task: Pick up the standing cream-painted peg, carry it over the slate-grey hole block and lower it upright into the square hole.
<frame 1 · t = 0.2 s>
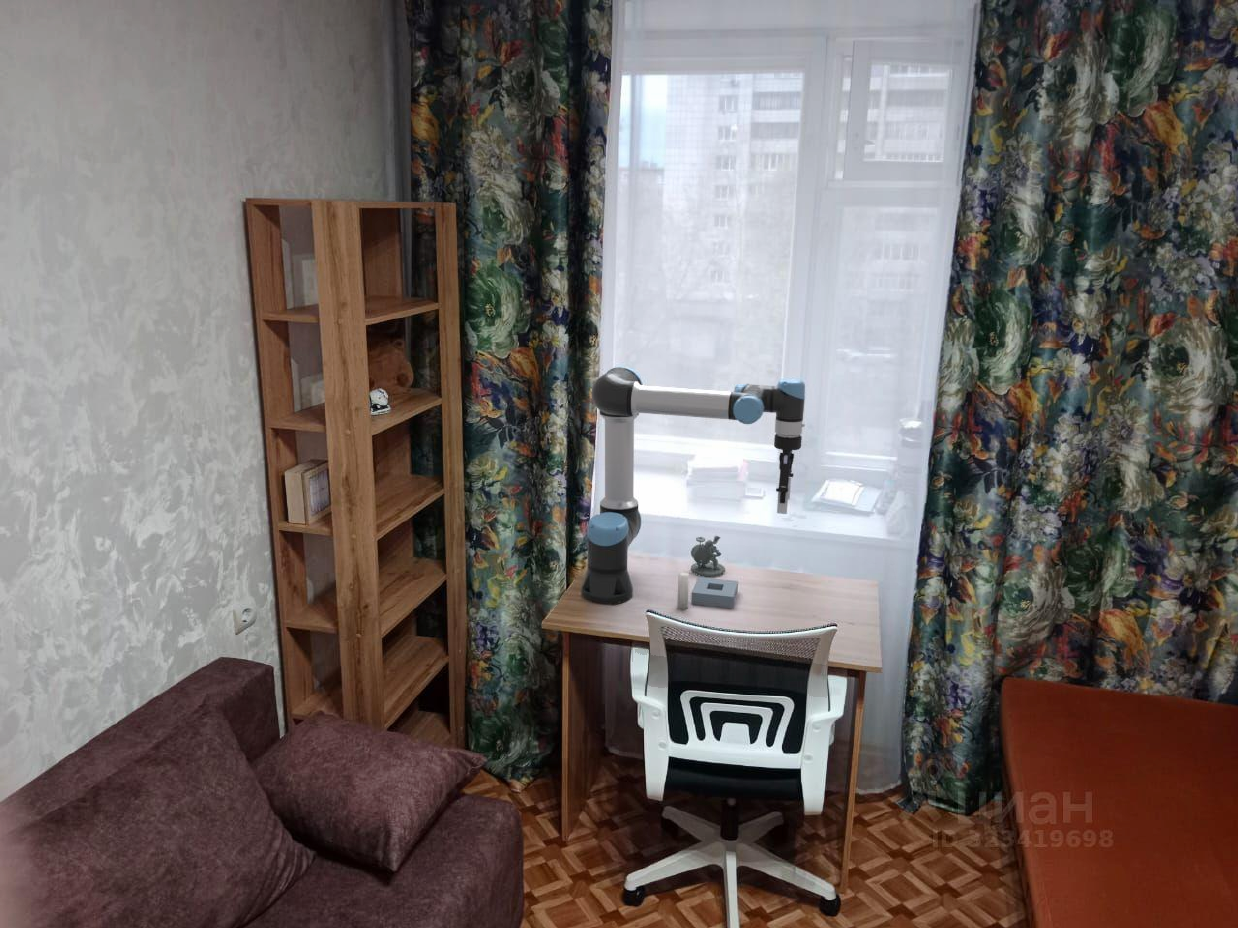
hand: (783, 506, 265), 28 cm above the table, fingers open, 13 cm apart
peg: (682, 607, 263), on the table
hole block: (714, 597, 270), on the table
figurine: (707, 571, 289), on the table
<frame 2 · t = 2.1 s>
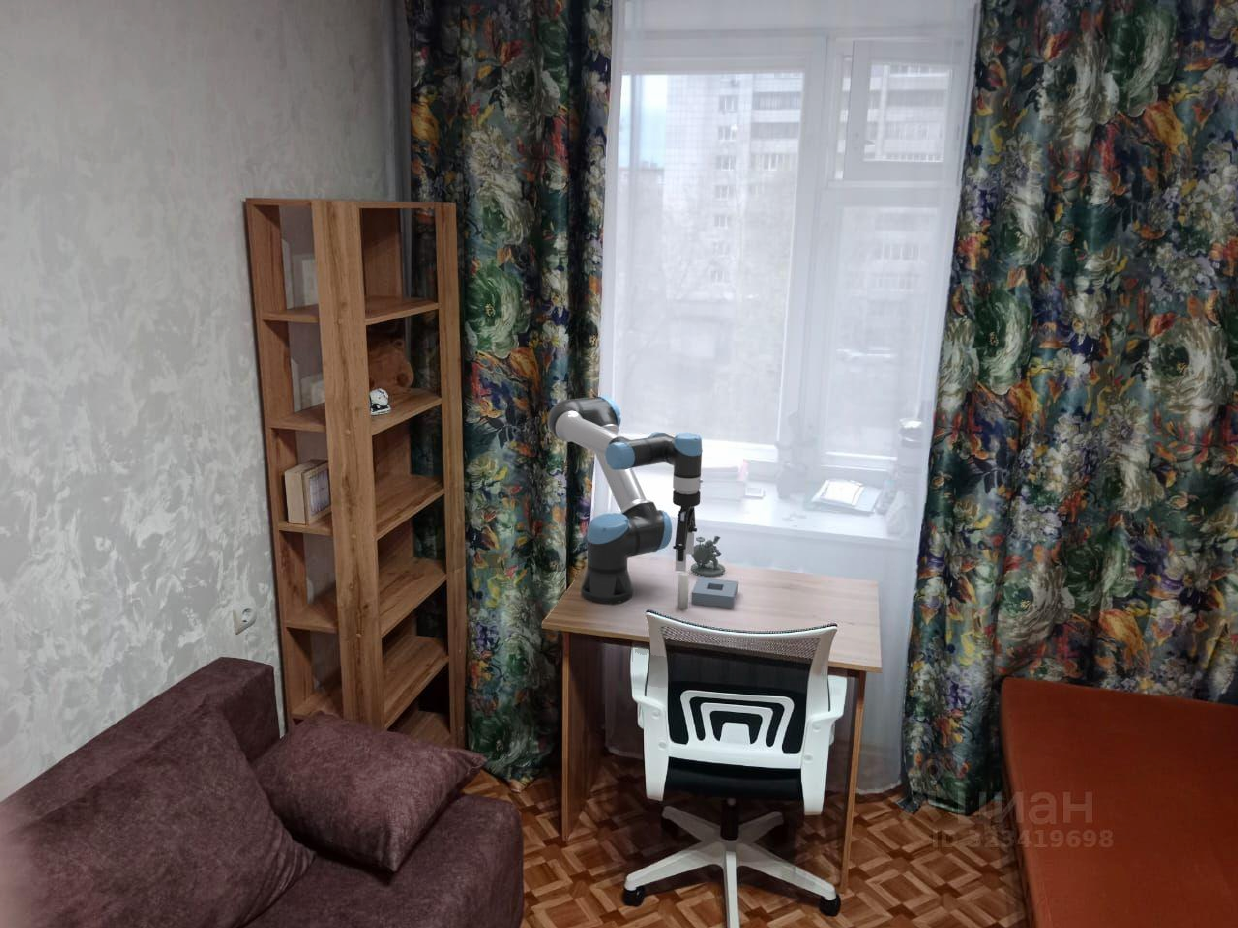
hand: (684, 562, 259), 14 cm above the table, fingers open, 13 cm apart
nothing on the table moved.
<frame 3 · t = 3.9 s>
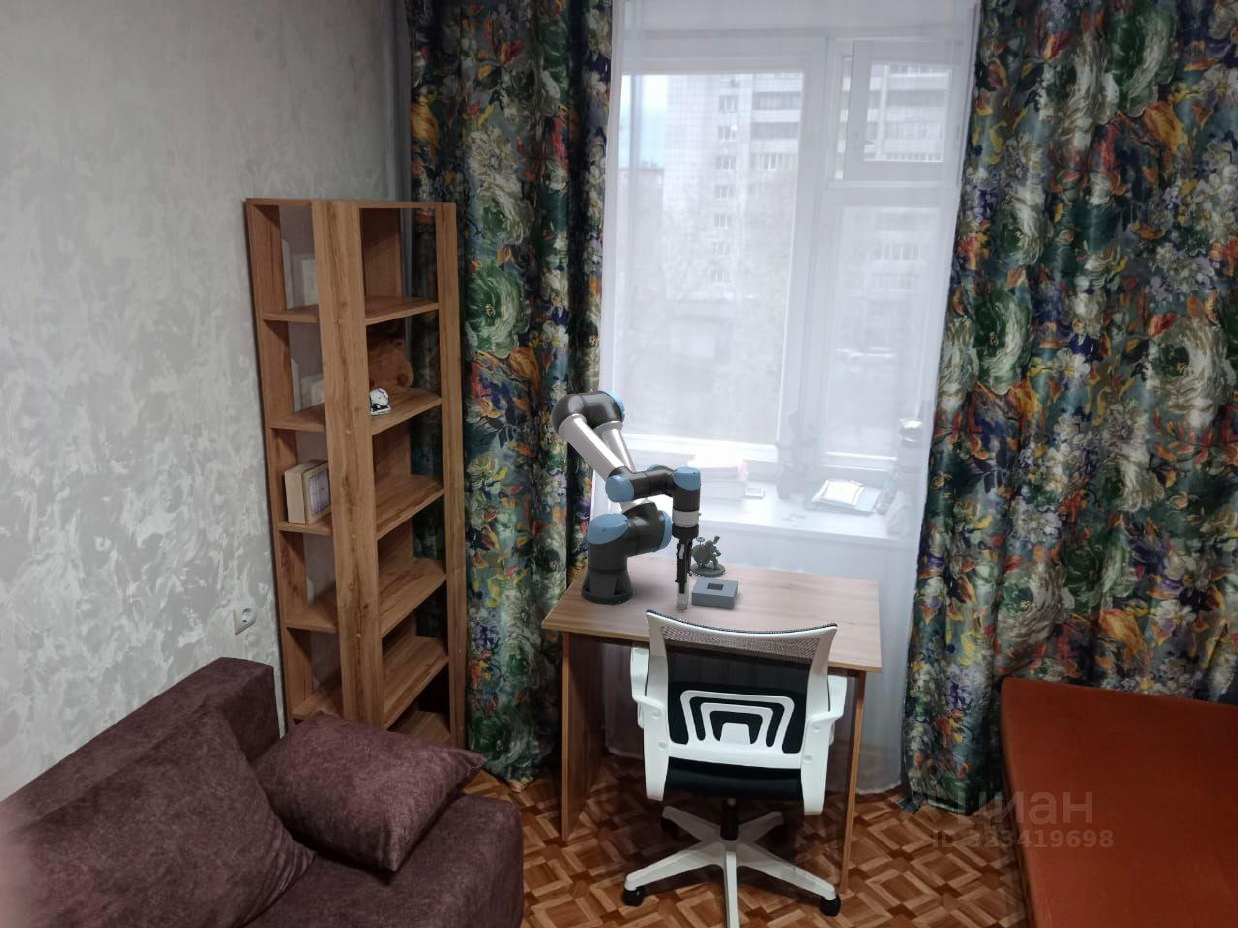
hand: (682, 600, 262), 2 cm above the table, fingers closed on peg, 3 cm apart
peg: (682, 606, 263), on the table, touching gripper
everything else where it was.
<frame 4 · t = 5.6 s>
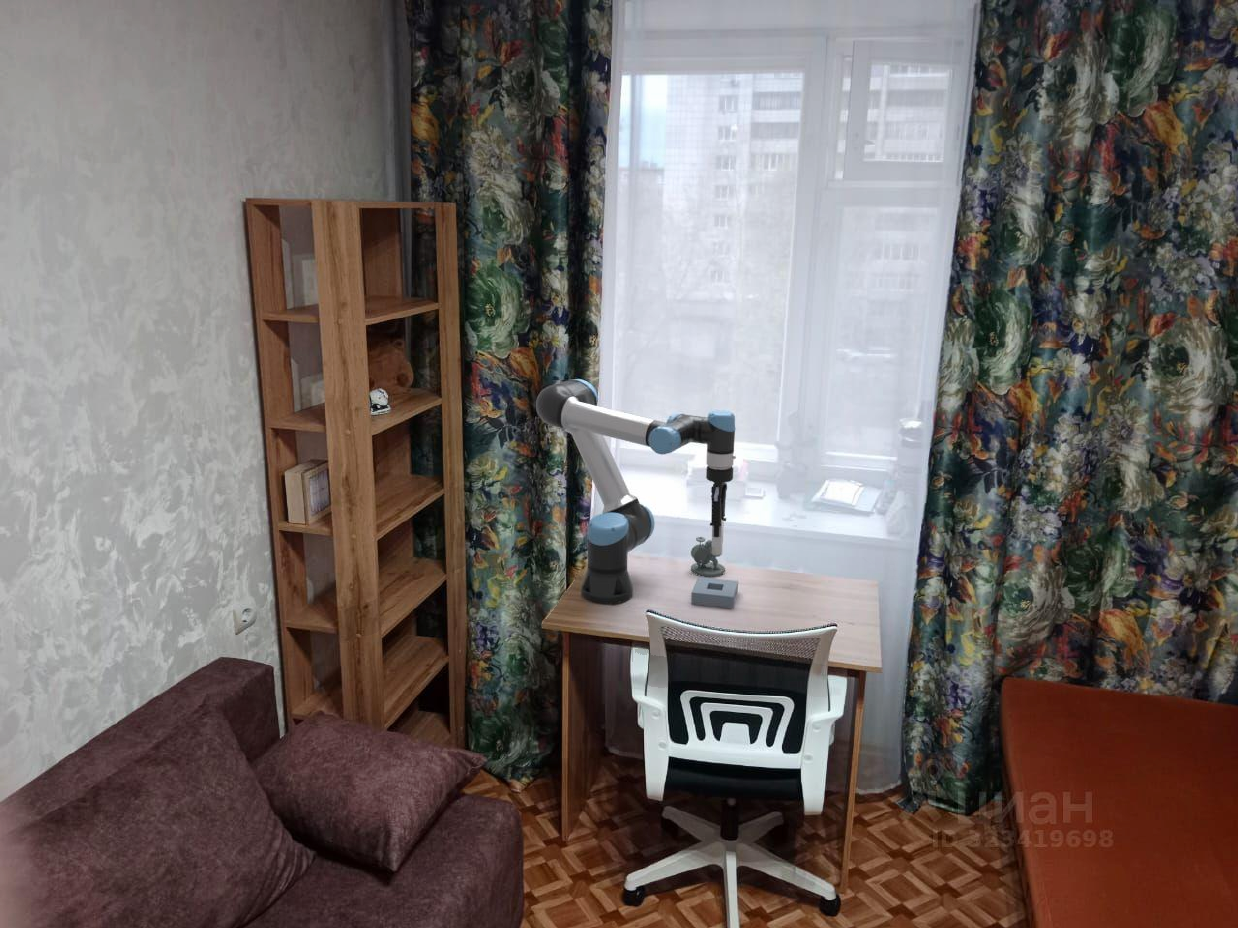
hand: (717, 544, 265), 17 cm above the table, fingers closed on peg, 2 cm apart
peg: (716, 553, 265), point 14 cm above the table, touching gripper
everything else where it was.
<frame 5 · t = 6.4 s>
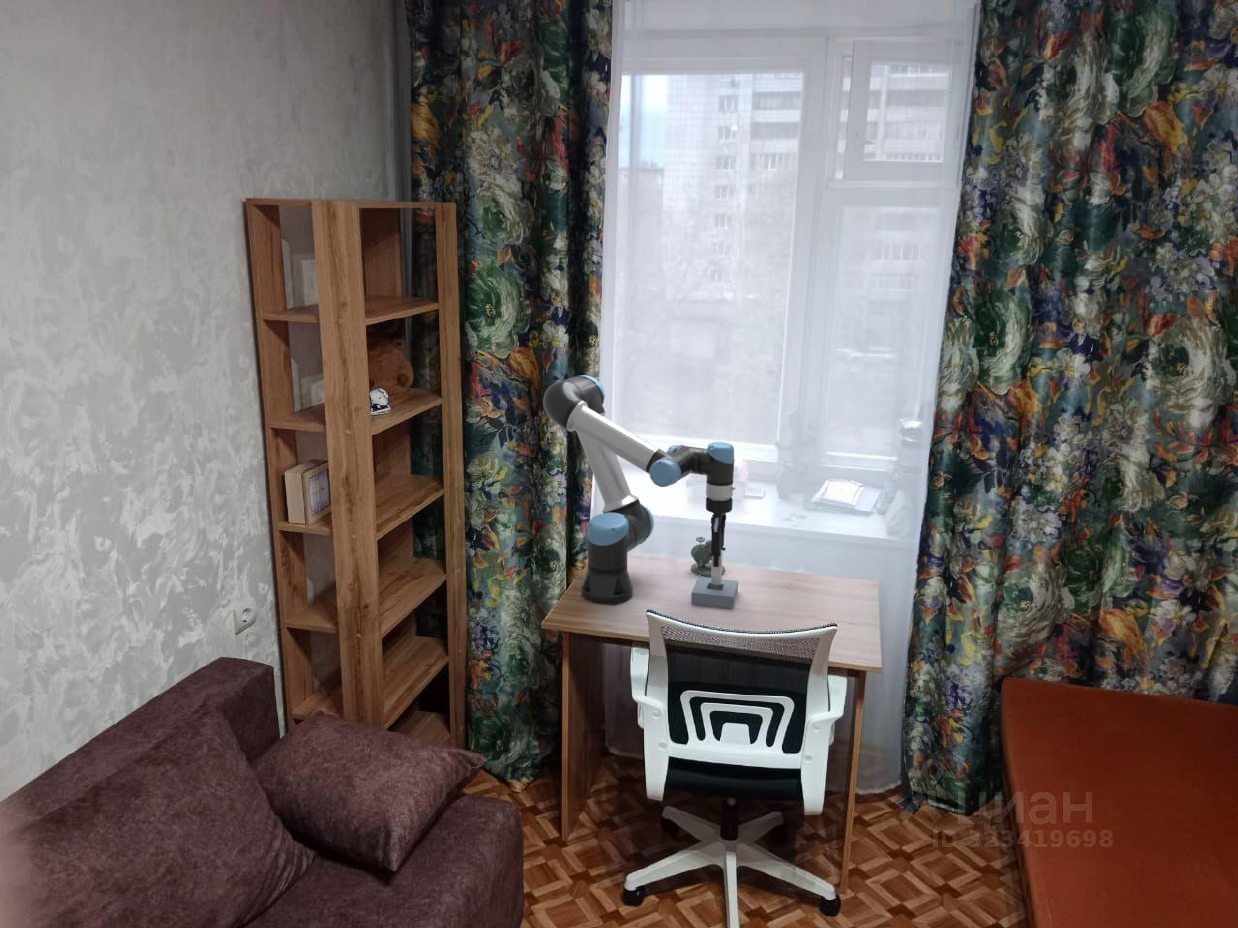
hand: (716, 573, 267), 7 cm above the table, fingers closed on peg, 2 cm apart
peg: (716, 582, 268), point 5 cm above the table, touching gripper
everything else where it was.
when the fingers open (4 cm above the table, at t = 7.3 s): peg drops 1 cm, resting in hole block.
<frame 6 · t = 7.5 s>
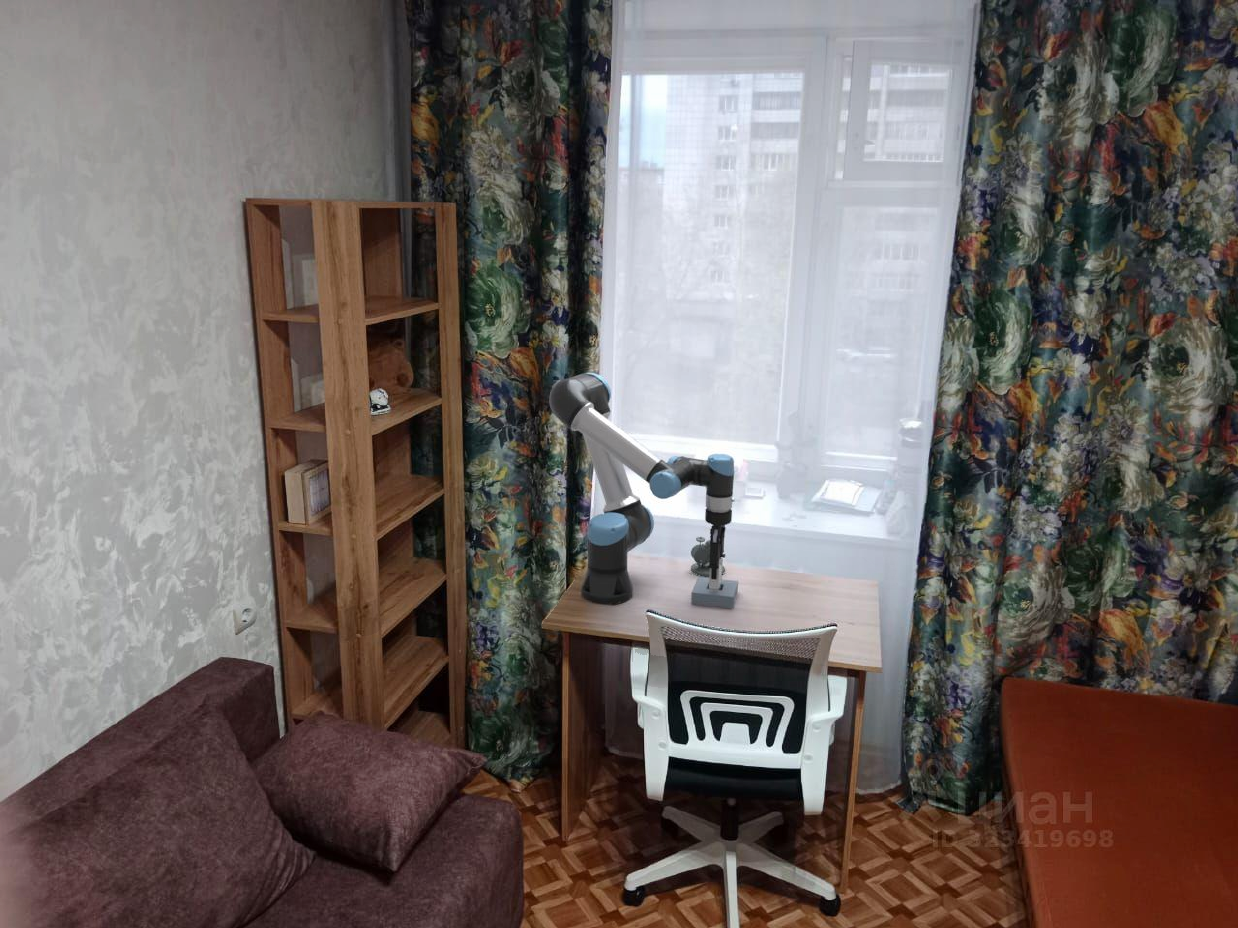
hand: (715, 583, 268), 4 cm above the table, fingers open, 7 cm apart
peg: (714, 597, 270), resting in hole block
everything else where it was.
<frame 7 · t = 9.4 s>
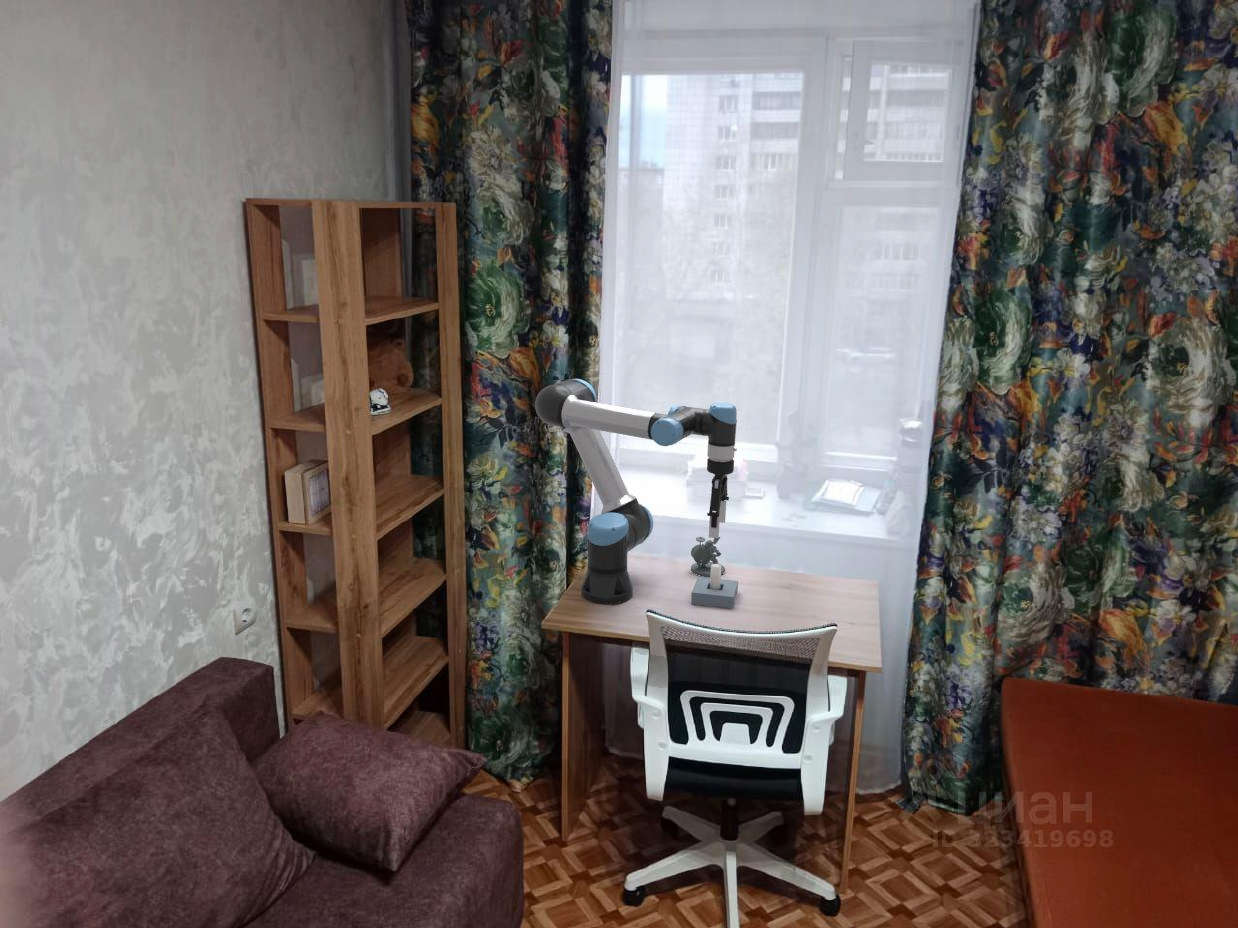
hand: (717, 529, 264), 21 cm above the table, fingers open, 13 cm apart
nothing on the table moved.
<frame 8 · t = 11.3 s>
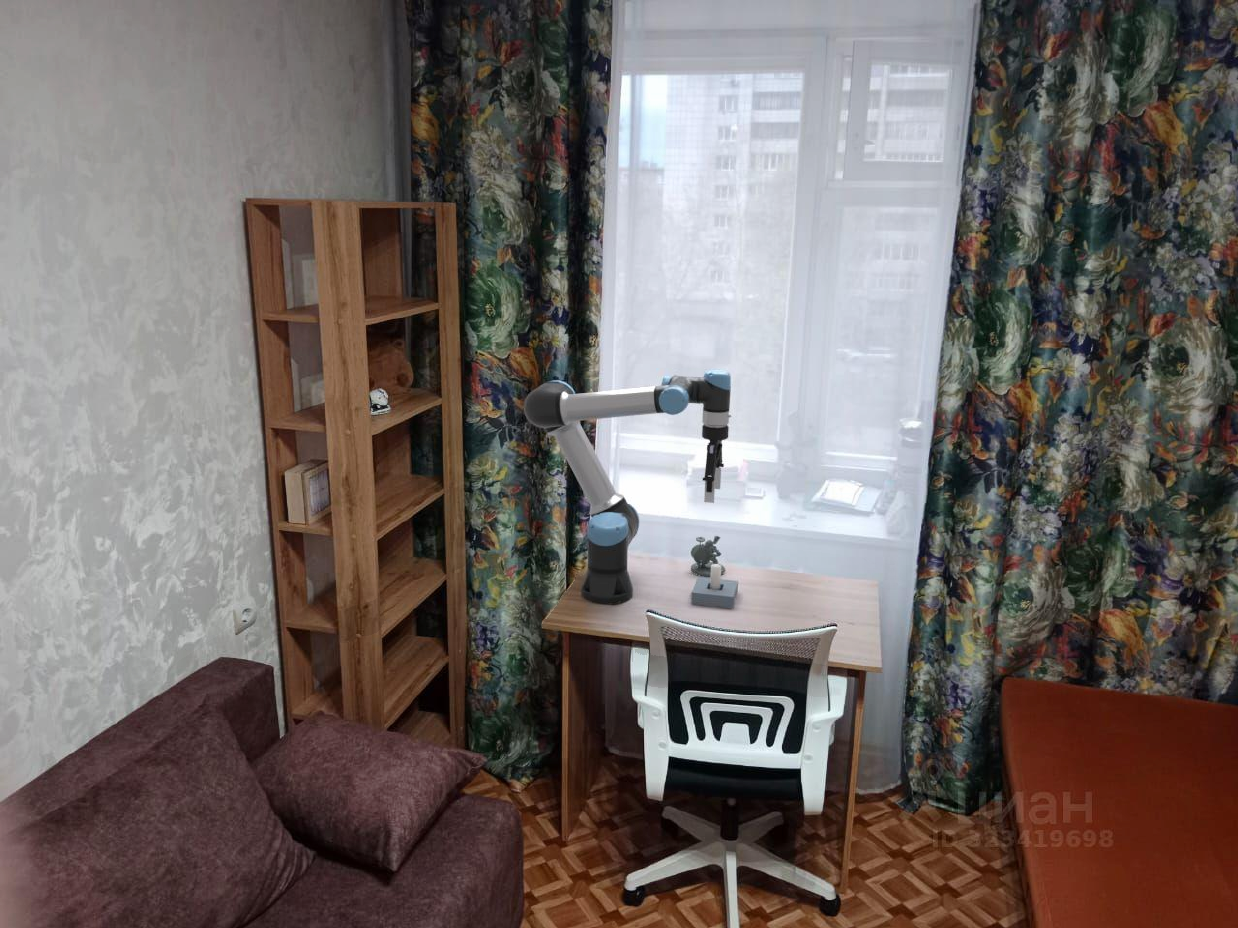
hand: (712, 495, 270), 29 cm above the table, fingers open, 13 cm apart
nothing on the table moved.
at the end: peg 0.0 cm off-centre on the hole block, point 0.0 cm above the hole block's base; peg tilted 0°; the gripper is holding nothing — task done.
